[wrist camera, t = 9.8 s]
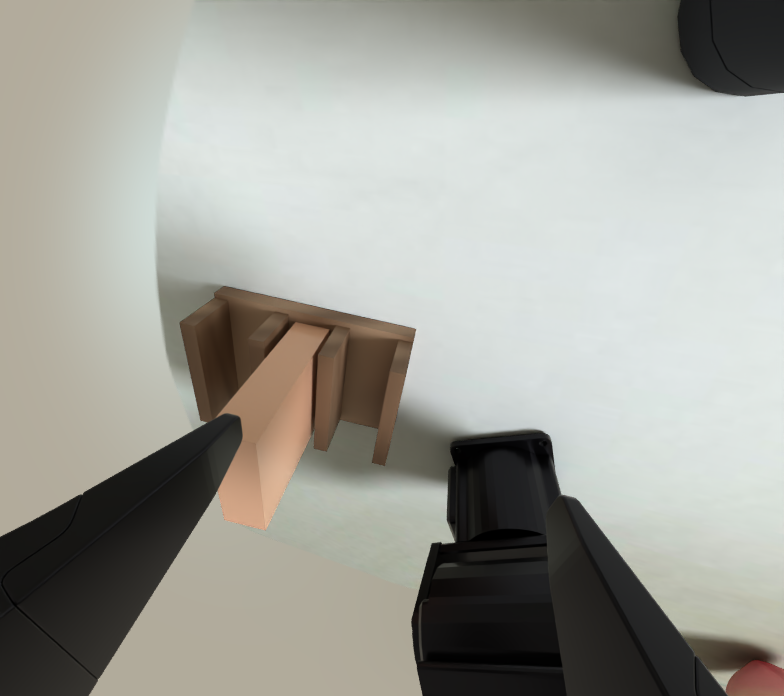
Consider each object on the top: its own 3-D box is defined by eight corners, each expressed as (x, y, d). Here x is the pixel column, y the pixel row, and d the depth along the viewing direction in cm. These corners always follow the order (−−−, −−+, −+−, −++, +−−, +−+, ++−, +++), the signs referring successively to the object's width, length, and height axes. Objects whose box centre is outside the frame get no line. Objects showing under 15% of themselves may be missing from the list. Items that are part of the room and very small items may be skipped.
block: (329, 329, 20) (256, 443, 13) (325, 406, 23) (265, 530, 16) (295, 322, 20) (204, 431, 13) (296, 399, 23) (224, 519, 16)
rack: (416, 329, 20) (407, 370, 17) (394, 421, 24) (384, 468, 21) (223, 286, 20) (178, 317, 17) (236, 383, 25) (201, 424, 21)
